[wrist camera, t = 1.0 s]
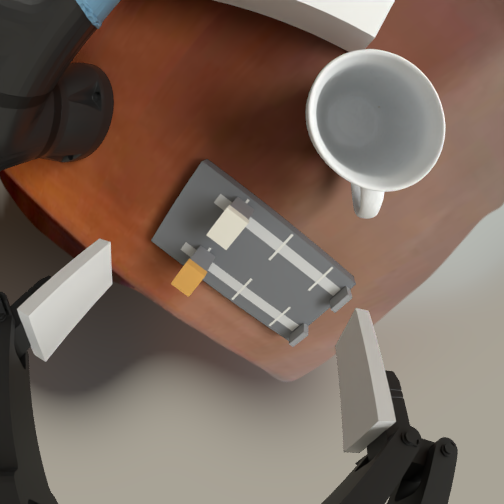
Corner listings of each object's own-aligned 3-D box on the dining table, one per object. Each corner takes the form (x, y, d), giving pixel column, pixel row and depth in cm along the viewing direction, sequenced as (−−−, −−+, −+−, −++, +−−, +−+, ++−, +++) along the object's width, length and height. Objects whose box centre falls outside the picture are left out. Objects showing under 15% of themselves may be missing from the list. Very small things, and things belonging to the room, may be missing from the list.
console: (157, 235, 39) (144, 246, 35) (207, 158, 33) (196, 163, 30) (289, 332, 42) (288, 350, 39) (353, 276, 37) (358, 292, 33)
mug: (395, 200, 32) (439, 241, 20) (307, 199, 34) (311, 242, 22) (392, 79, 26) (441, 58, 14) (299, 75, 28) (299, 45, 16)
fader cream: (218, 219, 34) (206, 235, 30) (237, 195, 32) (226, 207, 28) (236, 232, 34) (226, 250, 30) (255, 209, 33) (248, 223, 28)
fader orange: (185, 264, 37) (170, 283, 33) (200, 244, 36) (186, 262, 31) (201, 276, 38) (188, 296, 33) (216, 256, 36) (205, 276, 32)
